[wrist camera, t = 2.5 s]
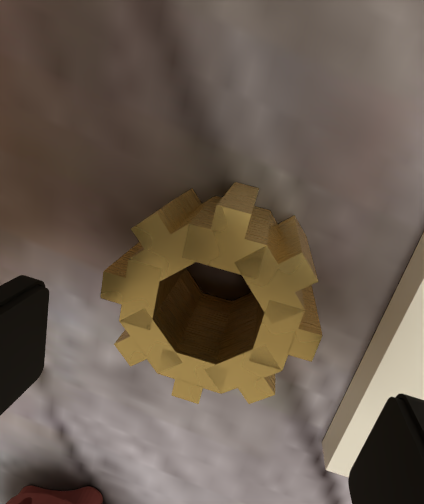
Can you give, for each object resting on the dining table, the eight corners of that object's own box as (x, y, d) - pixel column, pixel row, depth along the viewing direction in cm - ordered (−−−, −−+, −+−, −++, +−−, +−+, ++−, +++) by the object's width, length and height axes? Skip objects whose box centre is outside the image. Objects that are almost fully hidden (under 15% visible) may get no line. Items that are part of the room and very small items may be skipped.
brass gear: (163, 163, 14) (114, 177, 10) (334, 208, 13) (360, 243, 9) (138, 309, 17) (92, 369, 12) (281, 352, 16) (282, 431, 12)
